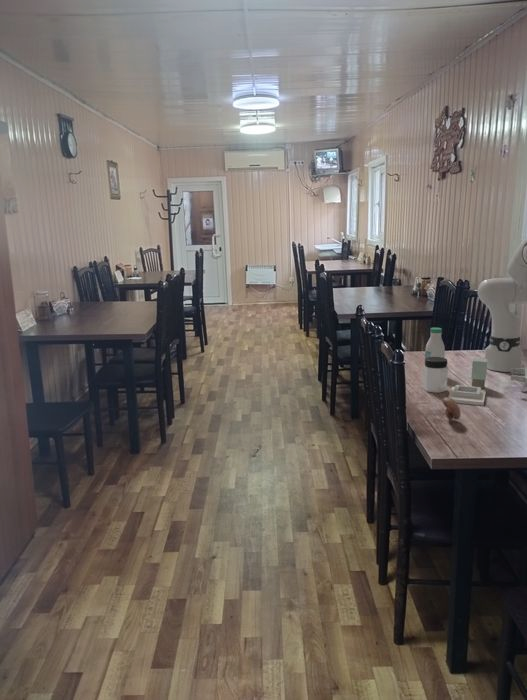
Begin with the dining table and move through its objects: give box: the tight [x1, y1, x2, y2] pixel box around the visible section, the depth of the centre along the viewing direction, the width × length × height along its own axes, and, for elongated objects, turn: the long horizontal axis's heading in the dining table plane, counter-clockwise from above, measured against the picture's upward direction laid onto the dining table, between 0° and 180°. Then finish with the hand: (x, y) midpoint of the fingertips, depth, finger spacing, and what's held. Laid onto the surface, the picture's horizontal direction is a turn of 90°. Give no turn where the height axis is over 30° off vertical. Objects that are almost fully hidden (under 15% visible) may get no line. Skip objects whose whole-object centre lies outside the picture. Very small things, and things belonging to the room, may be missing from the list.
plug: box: [471, 357, 488, 390], centre depth 215 cm, size 5×5×11 cm
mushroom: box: [441, 396, 461, 422], centre depth 181 cm, size 8×6×8 cm
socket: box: [447, 384, 487, 406], centre depth 205 cm, size 16×12×3 cm
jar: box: [422, 357, 449, 394], centre depth 214 cm, size 9×8×12 cm
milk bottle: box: [424, 327, 446, 359], centre depth 232 cm, size 8×8×20 cm
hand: (510, 374), depth 211 cm, fingers open, 8 cm apart
